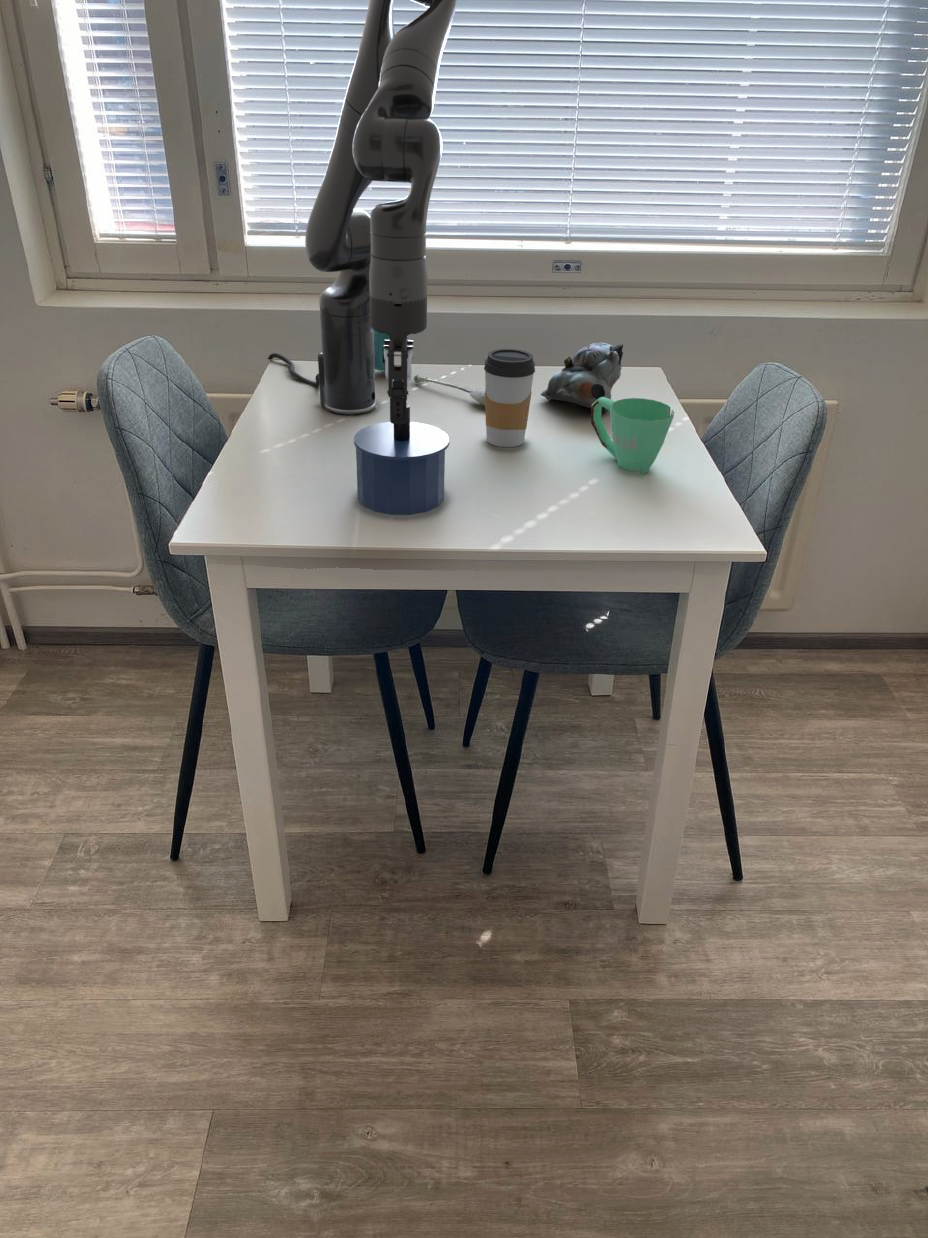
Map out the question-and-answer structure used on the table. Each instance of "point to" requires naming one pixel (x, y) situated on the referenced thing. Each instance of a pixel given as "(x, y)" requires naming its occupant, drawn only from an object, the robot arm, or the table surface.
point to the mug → (633, 430)
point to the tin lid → (401, 440)
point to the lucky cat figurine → (587, 375)
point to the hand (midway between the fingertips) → (398, 411)
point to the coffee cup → (507, 395)
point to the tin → (400, 484)
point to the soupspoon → (475, 394)
